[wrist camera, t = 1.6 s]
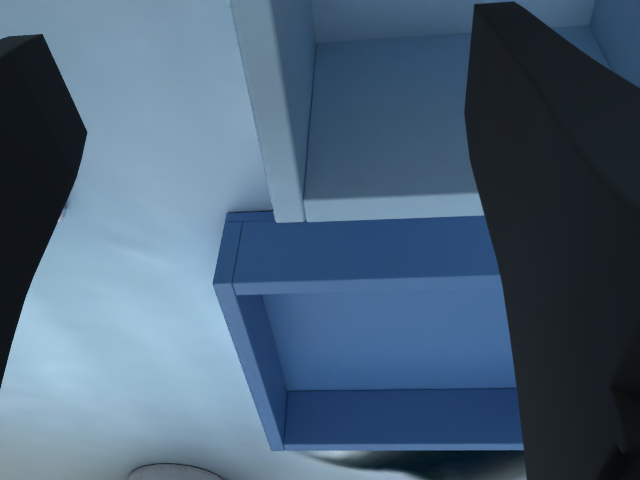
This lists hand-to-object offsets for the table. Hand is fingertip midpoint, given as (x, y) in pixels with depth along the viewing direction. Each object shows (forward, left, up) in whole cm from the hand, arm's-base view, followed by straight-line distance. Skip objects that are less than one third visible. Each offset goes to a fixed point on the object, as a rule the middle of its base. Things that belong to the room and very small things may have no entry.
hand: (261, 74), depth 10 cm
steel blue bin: (+4, -17, -7) cm, 19 cm away
